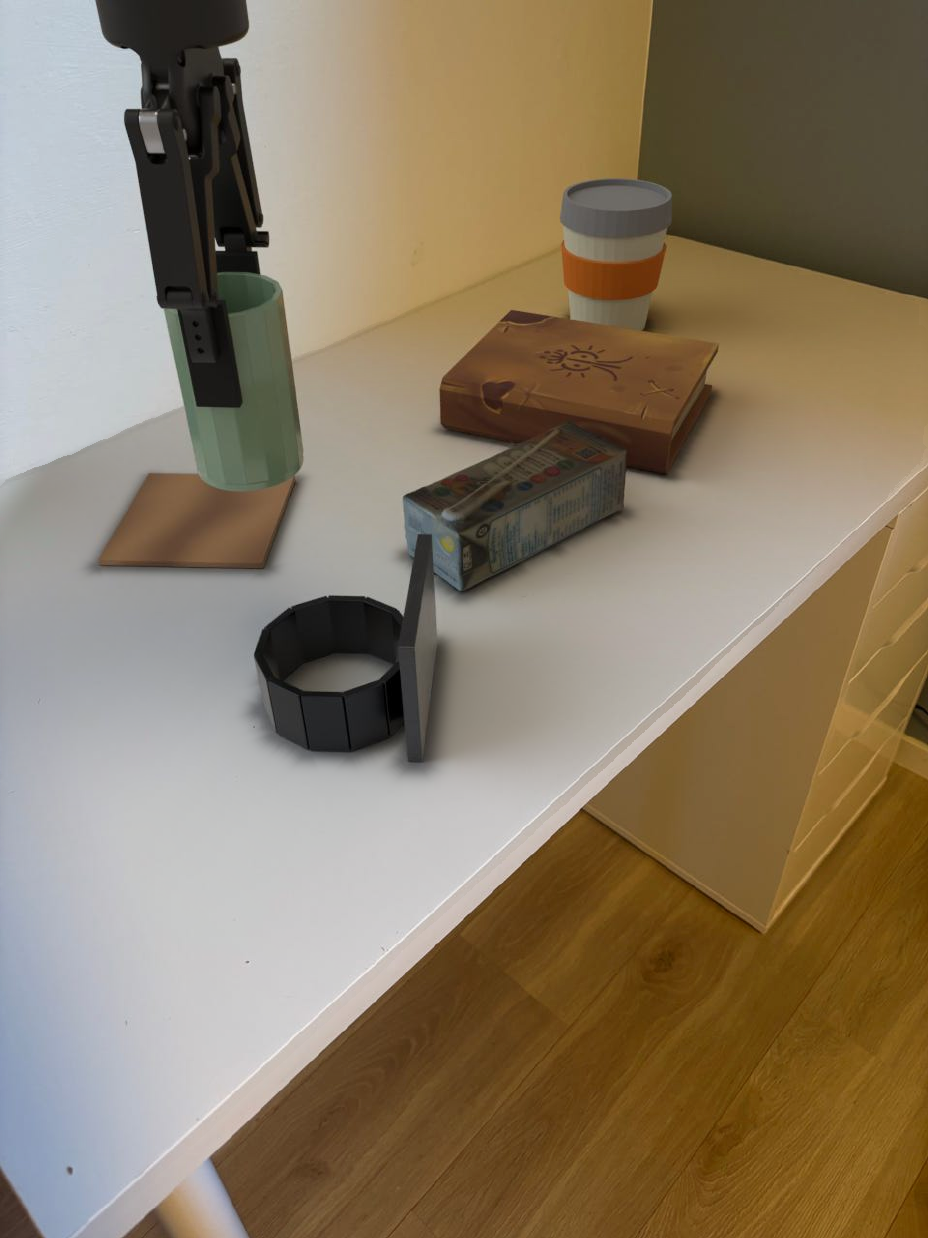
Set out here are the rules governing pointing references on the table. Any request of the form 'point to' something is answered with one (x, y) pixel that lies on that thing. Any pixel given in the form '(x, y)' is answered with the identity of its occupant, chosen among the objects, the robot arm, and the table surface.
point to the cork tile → (196, 524)
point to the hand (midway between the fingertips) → (235, 375)
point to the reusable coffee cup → (613, 248)
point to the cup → (247, 392)
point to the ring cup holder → (355, 630)
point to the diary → (580, 385)
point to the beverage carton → (516, 503)
